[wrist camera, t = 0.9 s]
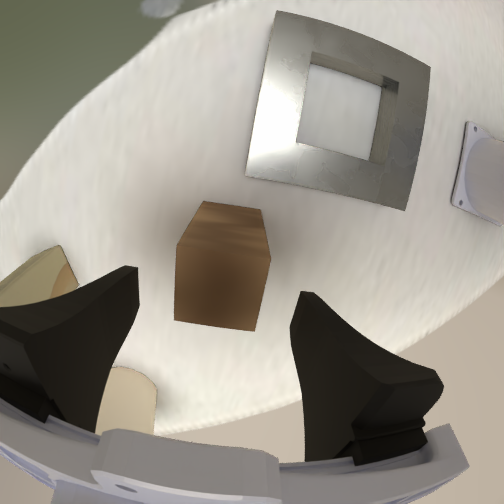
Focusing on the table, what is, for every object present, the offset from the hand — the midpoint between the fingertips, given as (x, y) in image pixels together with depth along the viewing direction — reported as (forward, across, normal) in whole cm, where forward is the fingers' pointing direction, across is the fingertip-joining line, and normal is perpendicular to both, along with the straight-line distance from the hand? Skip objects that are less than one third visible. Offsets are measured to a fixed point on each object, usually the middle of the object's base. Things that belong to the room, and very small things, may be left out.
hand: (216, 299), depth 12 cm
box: (+9, +16, +6) cm, 19 cm away
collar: (+8, -6, -10) cm, 14 cm away
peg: (+9, 0, 0) cm, 9 cm away
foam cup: (+9, +9, +20) cm, 24 cm away
